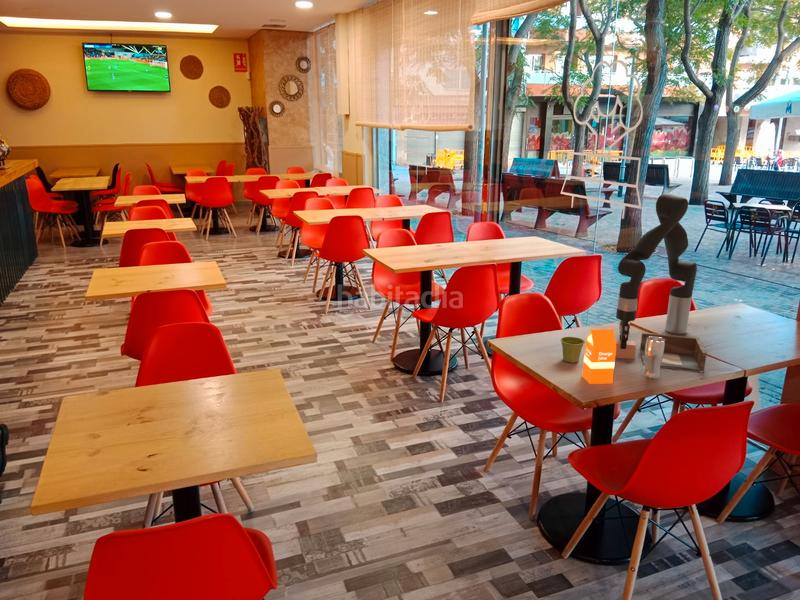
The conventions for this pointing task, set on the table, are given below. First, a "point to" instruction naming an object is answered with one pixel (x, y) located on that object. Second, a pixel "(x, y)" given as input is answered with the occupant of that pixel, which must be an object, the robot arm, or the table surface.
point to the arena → (679, 352)
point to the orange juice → (599, 356)
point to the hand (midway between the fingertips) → (622, 345)
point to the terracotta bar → (626, 350)
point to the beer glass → (653, 356)
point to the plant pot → (572, 348)
